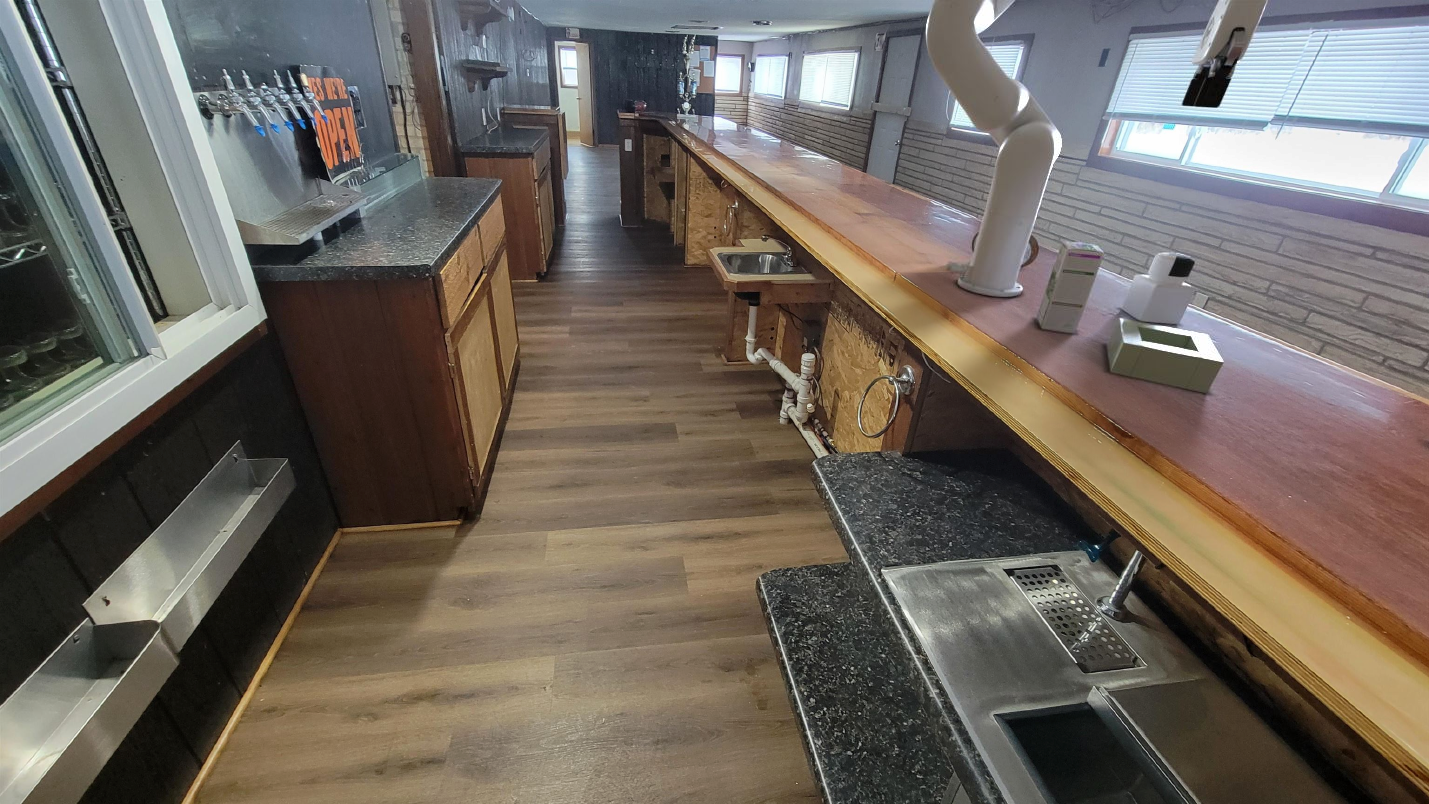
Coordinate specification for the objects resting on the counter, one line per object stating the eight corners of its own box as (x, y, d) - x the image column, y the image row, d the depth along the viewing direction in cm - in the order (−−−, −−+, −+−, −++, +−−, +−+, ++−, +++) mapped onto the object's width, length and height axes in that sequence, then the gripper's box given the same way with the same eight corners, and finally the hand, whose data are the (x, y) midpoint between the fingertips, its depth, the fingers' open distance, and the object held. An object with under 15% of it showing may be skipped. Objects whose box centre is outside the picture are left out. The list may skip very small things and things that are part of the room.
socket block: (1110, 372, 86) (1123, 342, 83) (1106, 345, 95) (1118, 318, 92) (1206, 393, 81) (1224, 362, 78) (1193, 363, 90) (1207, 334, 88)
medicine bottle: (1157, 311, 111) (1185, 251, 106) (1179, 325, 105) (1210, 261, 99) (1119, 308, 112) (1145, 248, 106) (1139, 322, 106) (1167, 258, 100)
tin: (1032, 270, 134) (1044, 235, 129) (1027, 273, 132) (1039, 236, 127) (971, 256, 143) (980, 222, 139) (965, 258, 141) (975, 224, 137)
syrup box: (1075, 334, 99) (1108, 252, 92) (1038, 329, 100) (1067, 247, 93) (1069, 323, 104) (1099, 244, 96) (1034, 318, 105) (1061, 240, 98)
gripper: (1208, -14, 92) (1162, 104, 100) (1238, -33, 78) (1181, 106, 87) (1266, -15, 89) (1213, 107, 98) (1307, -34, 75) (1242, 109, 84)
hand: (1198, 107), depth 92 cm, fingers open, 9 cm apart
